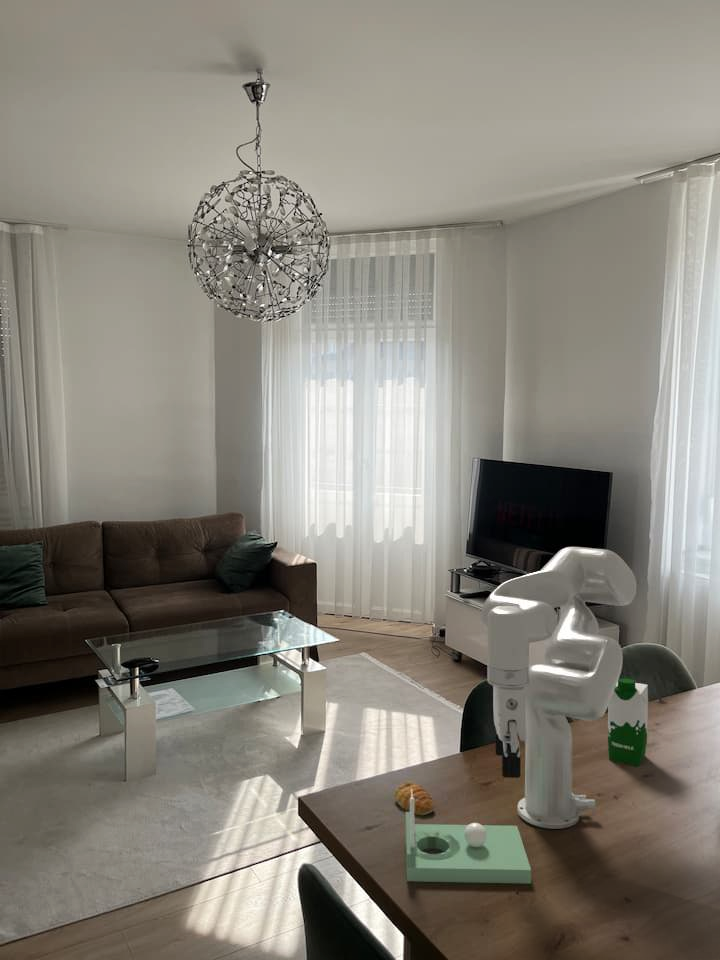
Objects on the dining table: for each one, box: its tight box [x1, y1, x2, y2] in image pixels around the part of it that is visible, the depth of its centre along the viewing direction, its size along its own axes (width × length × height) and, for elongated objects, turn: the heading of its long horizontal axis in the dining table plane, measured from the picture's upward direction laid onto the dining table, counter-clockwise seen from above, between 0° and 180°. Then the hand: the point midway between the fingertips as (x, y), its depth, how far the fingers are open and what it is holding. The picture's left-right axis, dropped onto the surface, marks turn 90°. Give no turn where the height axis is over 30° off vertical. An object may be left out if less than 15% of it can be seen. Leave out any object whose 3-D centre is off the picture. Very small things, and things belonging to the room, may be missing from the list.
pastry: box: [394, 781, 435, 816], centre depth 162 cm, size 9×7×4 cm
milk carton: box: [607, 677, 649, 767], centre depth 184 cm, size 9×9×20 cm
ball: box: [464, 822, 487, 848], centre depth 141 cm, size 4×4×4 cm
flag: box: [409, 789, 415, 848], centre depth 139 cm, size 1×4×14 cm, turn 178°
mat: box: [405, 811, 532, 885], centre depth 142 cm, size 22×15×5 cm
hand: (507, 765), depth 140 cm, fingers open, 8 cm apart
